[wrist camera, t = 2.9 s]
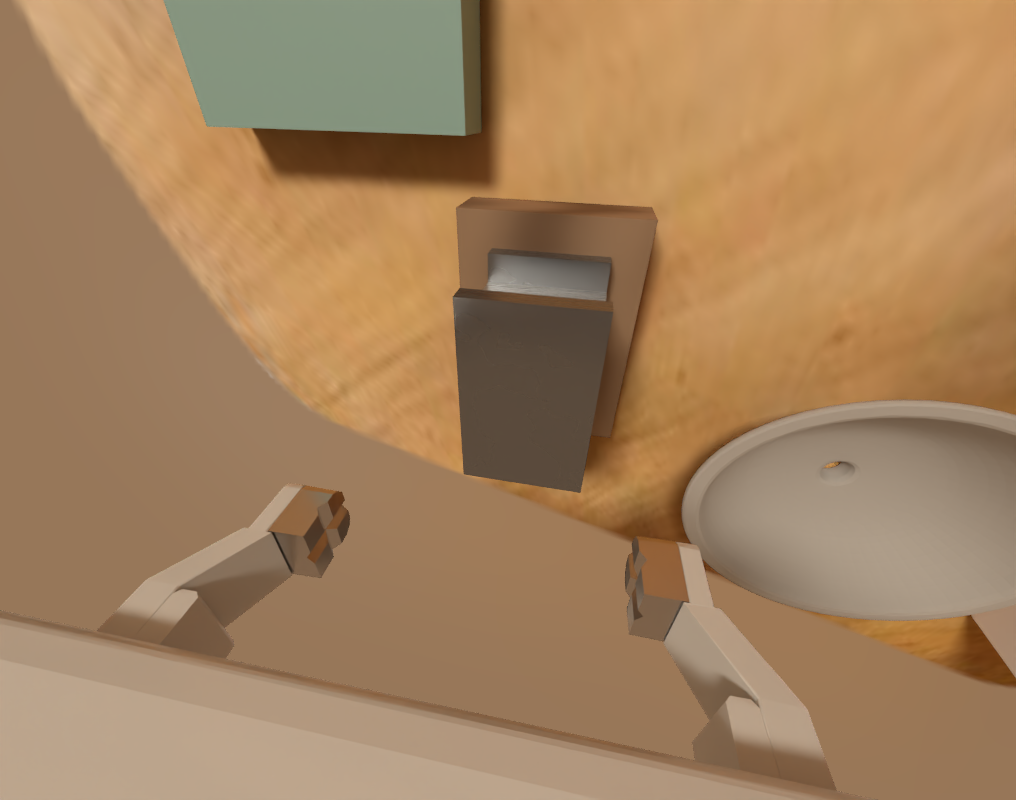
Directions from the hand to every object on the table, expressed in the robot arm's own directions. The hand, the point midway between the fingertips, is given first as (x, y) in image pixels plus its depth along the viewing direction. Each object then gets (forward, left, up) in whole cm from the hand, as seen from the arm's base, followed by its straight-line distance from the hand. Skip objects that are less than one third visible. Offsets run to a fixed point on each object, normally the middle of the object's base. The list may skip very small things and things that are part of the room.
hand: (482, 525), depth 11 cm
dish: (-17, +6, -13) cm, 23 cm away
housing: (0, 0, -11) cm, 11 cm away
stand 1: (+9, -12, -13) cm, 20 cm away
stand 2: (0, 0, -13) cm, 13 cm away
